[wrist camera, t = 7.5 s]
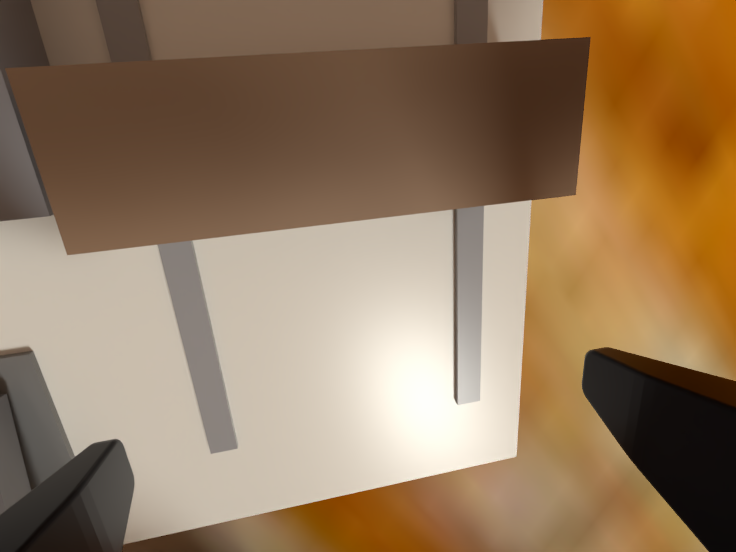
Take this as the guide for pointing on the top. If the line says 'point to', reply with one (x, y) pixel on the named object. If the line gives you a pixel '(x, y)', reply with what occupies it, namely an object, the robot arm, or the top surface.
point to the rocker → (10, 460)
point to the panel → (258, 296)
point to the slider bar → (299, 137)
